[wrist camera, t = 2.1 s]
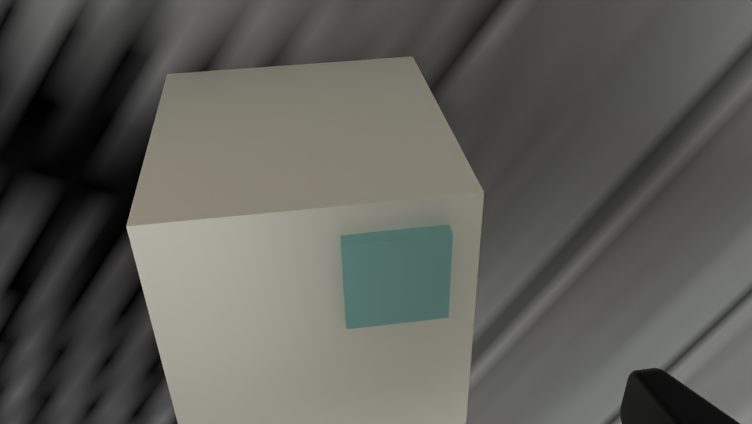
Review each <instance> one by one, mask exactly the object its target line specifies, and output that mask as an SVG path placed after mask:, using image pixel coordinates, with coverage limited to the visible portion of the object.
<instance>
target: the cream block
mask: <svg viewBox="0 0 752 424" xmlns="http://www.w3.org/2000/svg"><path fill="white" fill-rule="evenodd" d="M483 202H484V191H483V189H482V187H481V185H480V183H479V182H478V180H477V178H476V176H475V174H474V172H473V170H472V168H471V166H470V164H469V163H468V161H467V159H466V157H465V155H464V153H463V151H462V149H461V147H460V145H459V144H458V142H457V140H456V138H455V136H454V134H453V132H452V130H451V128H450V126H449V125H448V123H447V121H446V119H445V117H444V115H443V113H442V111H441V109H440V107H439V106H438V104H437V102H436V100H435V98H434V96H433V94H432V92H431V90H430V88H429V87H428V85H427V83H426V81H425V79H424V77H423V75H422V73H421V71H420V69H419V68H418V66H417V64H416V62H415V60H414V58H413V56H412V57H398V58H384V59H370V60H356V61H342V62H328V63H314V64H300V65H286V66H272V67H258V68H244V69H230V70H216V71H202V72H188V73H174V74H167V76H166V79H165V83H164V87H163V91H162V94H161V98H160V102H159V106H158V109H157V113H156V117H155V121H154V124H153V128H152V132H151V136H150V139H149V143H148V147H147V150H146V154H145V158H144V162H143V165H142V169H141V173H140V177H139V180H138V184H137V188H136V192H135V195H134V199H133V203H132V206H131V210H130V214H129V218H128V221H127V225H126V228H127V232H128V235H129V239H130V243H131V247H132V251H133V254H134V258H135V262H136V266H137V270H138V274H139V277H140V281H141V285H142V289H143V293H144V296H145V300H146V304H147V308H148V312H149V316H150V319H151V323H152V327H153V331H154V335H155V338H156V342H157V346H158V350H159V354H160V358H161V361H162V365H163V369H164V373H165V377H166V380H167V384H168V388H169V392H170V396H171V399H172V403H173V407H174V411H175V415H176V419H177V422H178V424H466V417H467V404H468V391H469V379H470V366H471V353H472V341H473V328H474V315H475V303H476V290H477V278H478V265H479V252H480V240H481V227H482V214H483Z"/></svg>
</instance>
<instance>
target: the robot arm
mask: <svg viewBox="0 0 752 424" xmlns="http://www.w3.org/2000/svg"><path fill="white" fill-rule="evenodd" d="M620 416H621V422H622V424H740V423H738V422H737V421H735V420H734V419H733V418H731V417H730V416H728V415H727V414H725V413H724V412H723V411H721V410H720V409H718V408H717V407H715V406H714V405H712V404H711V403H710V402H708V401H707V400H705V399H704V398H702V397H701V396H699V395H698V394H697V393H695V392H694V391H692V390H691V389H689V388H688V387H687V386H685V385H684V384H682V383H681V382H679V381H678V380H676V379H675V378H674V377H672V376H671V375H669V374H668V373H666V372H665V371H663V370H661V369H658V368H651V369H643V370H636V371H633V372H632V373H631V374H630V375H629V377H628V381H627V384H626V388H625V392H624V396H623V400H622V404H621V409H620Z"/></svg>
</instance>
